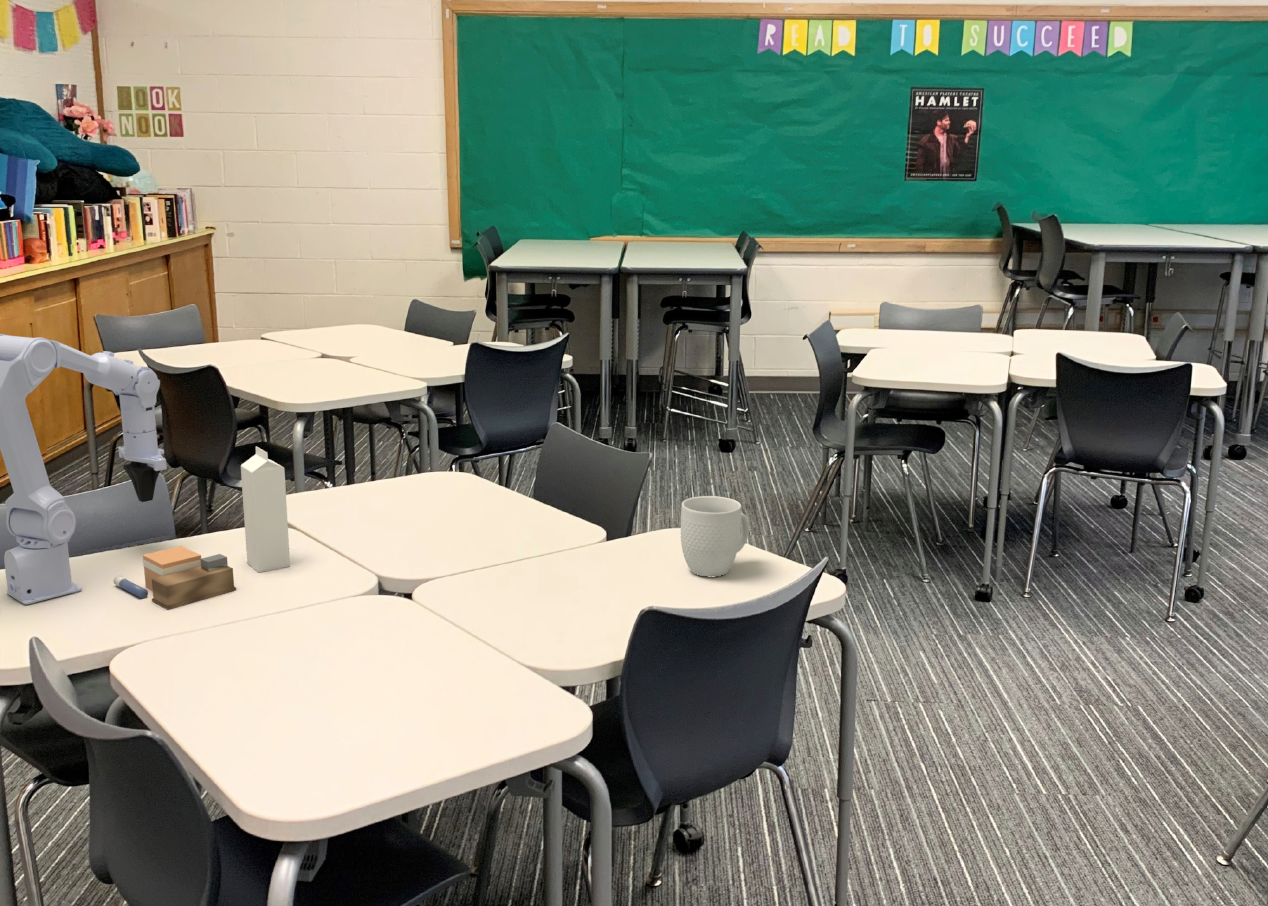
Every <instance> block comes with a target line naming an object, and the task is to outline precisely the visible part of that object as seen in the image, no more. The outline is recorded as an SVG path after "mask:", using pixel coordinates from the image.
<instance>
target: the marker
mask: <svg viewBox="0 0 1268 906" xmlns="http://www.w3.org/2000/svg"><path fill="white" fill-rule="evenodd" d="M112 580H113V581H112V582H113V584H114V585H115V586H117V587H119V588H121V589H123V590H125V591H127V592H128V593H130V594H132V595H134V596H136V597H138V598H140V599H145V598H147V597H148V594H149V591H148V590H147V588H146V589H145V588H144V587H142V586H140V585H138V584H136V583H134V582H133V581H130V580H129V579H127V578H125V577H124V576H121V575H117V576H115V577H114V578H113V579H112Z"/></svg>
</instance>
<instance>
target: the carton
mask: <svg viewBox="0 0 1268 906" xmlns="http://www.w3.org/2000/svg"><path fill="white" fill-rule="evenodd" d="M201 559H202V555H201V554H200V553H198V552H195V551H193V550H192V549H189V548H187V547H185V546H183V545H178V546H174V547H172V548H168V549H167V548H166V549H163V550H159V551H154V552H150V553H146V554H142V565H143V571H144V581H145V588H146V589H149V590H150V591H152V592H153V588H152V579H154V578H157V577H161V576H165V575H169V574H172V573H176V572H180V571H184V570H188V569H191V568H195V567H199V566H201Z"/></svg>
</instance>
